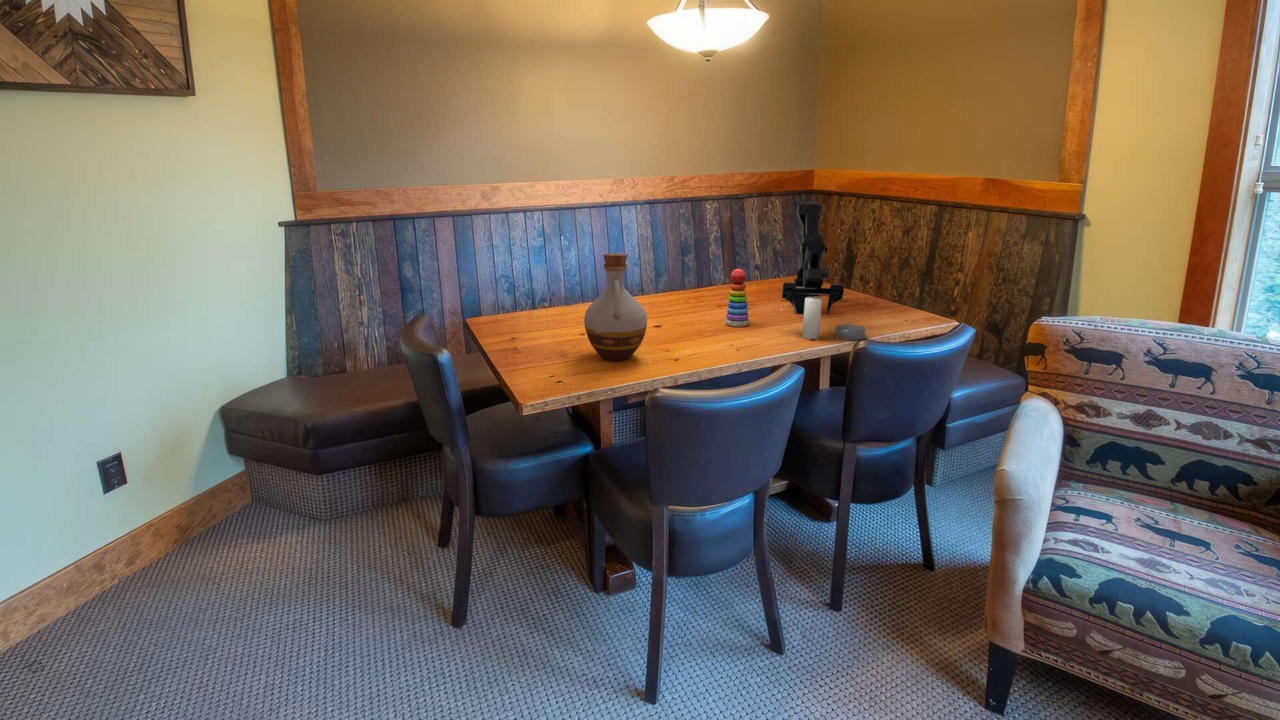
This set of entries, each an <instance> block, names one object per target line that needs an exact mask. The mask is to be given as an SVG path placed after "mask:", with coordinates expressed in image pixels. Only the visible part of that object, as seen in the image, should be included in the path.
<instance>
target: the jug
mask: <svg viewBox="0 0 1280 720" xmlns="http://www.w3.org/2000/svg"><path fill="white" fill-rule="evenodd" d="M602 256H603V260H604V262H605V263H603V268H604V270H605V274H606V281H607V285H606V288H605V290H604V291H603V292H602V293H601V294H600V295H598V297H597V298H595V299H594V301H592V302H591V304H590V305H588V308H587V309H586V310H585V313H584V317H583V318H584V320H583V321H584V322H583V323H584V329H585V333H586V336H587V339H588V341H589V343H590V345H591V347H593V349H594V350H595V352H596V353H597V354H598V355H599V356H600V357H601V359H603V360H604V361H606V362H607V361H608V362H612V363H614V362H624V361H628V360H630V359H631V358H632V356H633V355H634V354H635V353H636V351H637V350H639V348H640V346H641V345H642V343H643V340H644V338H645V335H646V331H647V328H648V315H647V312H646V310H645V308H644V306H643V305H642V304H641V303H640V302H639V301H638V300H637V299H636V298H635V297H634V296H632V295H631V293H630V292H629V291H628V290H627V289H626V288H625V285H624V283H625V273H626V270H627V268H628V263H627V260H628V253H621V252H620V253H619V252H618V253H617V252H614V253H613V252H612V253H611V252H610V253H603V254H602Z"/></svg>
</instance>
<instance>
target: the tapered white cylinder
mask: <svg viewBox="0 0 1280 720" xmlns="http://www.w3.org/2000/svg"><path fill="white" fill-rule="evenodd" d="M822 305H823V298H822V297H819V296H817V297H816V296H814V297H806V298H805V305H804V314H803V321H802V322H803V323H802V333H801V337H803V338H802V339H804V338H806V339H805V340H808V339H816V340H819V339H820V331H821V330H820V329H821V318H822V307H823V306H822ZM818 338H819V339H818Z"/></svg>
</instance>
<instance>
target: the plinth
mask: <svg viewBox="0 0 1280 720" xmlns="http://www.w3.org/2000/svg"><path fill="white" fill-rule="evenodd" d="M835 336H836V337H838V338H840V339H839V340H841V339H843V340H842V341H846V340H849V341H848V342H860V341H859V340H861V341H863V340H862V339H864V340H865V339H866V327H864V326H861V325H859V324H858V325H857V324H851V323H846V324H845V323H844V324H843V323H842V324H838V325H836V327H835ZM836 337H835V338H836ZM838 338H837V339H838ZM856 340H857V341H856Z"/></svg>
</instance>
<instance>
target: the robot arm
mask: <svg viewBox="0 0 1280 720" xmlns="http://www.w3.org/2000/svg"><path fill="white" fill-rule="evenodd" d="M823 208H824V205H823V204H820V202H817V201H816V202H813V201H811V202H810V201H806V202H805V201H801V203H800V204H797V211H796V213H797V214H796V215H797V216H798V222H799V223H800V226H801V227H802V241H801V242H800V248H799V250H800V251H799V253H800V254H801V261H800V262H801V263H800V269H799V270H798V271H797V273H796V276H795V278H794V280H793V282H787V281H785V282H783V284H782V288H781V289H782V290H781V298H782V299H785V300H786V301H788V302H789V303H790V304H791V305H792V307H793V311H794V313H795V314H796V315H799V314H803V315H804V305H805V298H806V297H819V296H820V295H822V296H823V295H824V296H826V295H827V296H828V299H827V306H826V316H829V314H830V311H831V309H832V307H833V305H834V304H835V303H838V302H839V301H842V300H843V295H844V292H845V286H844V284H841V283H830V286H829V288H828V287H822V286H823V285H824V280H825V279H826V280H828V279H829V278H830V267H822V265H823V264H822V263H823V260H824V256H825V254H826V253H827V252H828V249H829V248H828V247H827V245H826V244H825V242H824V237H823V235H821V233H820V231H819V230H820V229H819V228H820V226H819V221H820V218H821V216H823V210H824V209H823Z"/></svg>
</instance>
